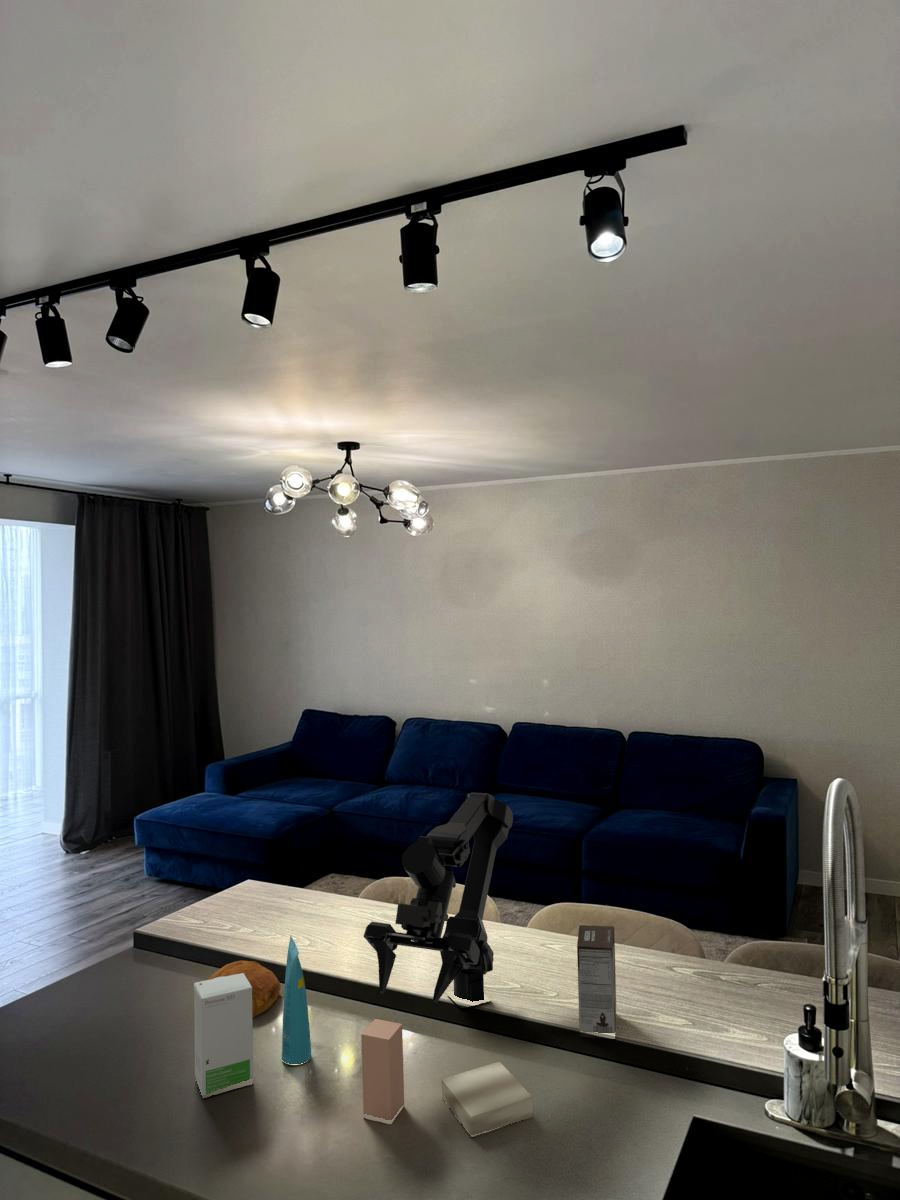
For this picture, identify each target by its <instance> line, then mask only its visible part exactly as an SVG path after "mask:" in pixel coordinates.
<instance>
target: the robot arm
mask: <svg viewBox="0 0 900 1200" xmlns="http://www.w3.org/2000/svg"><path fill="white" fill-rule="evenodd" d="M513 815H514V814H513V811H512V810H511V808H510V806H508V804H506V803H504V802H502V801H500V800H498V799H497V798H495V797H494V796H493V795H492V794H490V793H486V792H485V793H483V792H470V793H467V794H466V795H465V801H464V802H463V803H462V805H460V807H459V809H458V810H457V811H456V812H455V813H454V814H453V816H452V817H451V818H450V820H449V821H448V822H447V823H445V824H441V825H438V826H435V827H434V828H433V829H431V830H430V831H429V832H428V834H427V835H426V836H423V835H421V836H419V837H418V840H417V842H414V843H412V844H411V845H409V846H408V847H407V848H406V849H405V850H404V852H403V853H402V856H401V865H402V867H403V868H404V870H405V872H406V873H407V874H408V876H409V877H410V879H411V880H412V882H413V883H414V884H415V886H417V887H418V888H417V892H416V895H415V898H414V897H412V898H411V900H410V904H407V903H397V908H396V916H395V925H401V926H400V927H401V929H402V930H403V931H406V932H398V931H396V930H395V929H394V927H393V926H392V925H391V924H390V923H386V922H385V923H384V922H379V921H378V922H377V921H371V922H370V923H369V924H367V925H366V927H365V930H364V933H363V938H364V939H365V940H366V942H367V943H368V944H369V945H370V946H371V948H372V949H374V950H375V952H376V956H377V962H378V963H377V964H378V985H379V986H378V987H379V988H378V989H379V992H380V994H384V993H385V992H386V990H387V986H388V984H389V981H390V977H391V973H392V970H393V967H394V964H395V961H396V958H397V954H396V953H395V950H397V948H398V946H403V947H408V948H410V947H411V948H417V949H424V950H431V951H436V952H440V957H441V962H442V963H441V967H440V970H439V973H438V977H437V980H436V983H435V986H434V992H433V996H432V1001H433V1002H434V1003H438V1002H439V1000H440V999H441V997H442V996H443V995H444V994H445V992H446V990H448V987H449V986H450V985H451V984H452V982H453V991H454V995H455V996H457V997H459V998H462V999H467V1000H470V1001H472V1002H473V1001H479V1000H484V992H485V989H484V988H485V987H484V986H485V985H484V984H485V983H484V982H485V980H484V975H487V973H488V972H492V971H493V970H494V959H495V958H494V953H495V952H494V951H493V949H492V948H491V946H490V944H489V943H488V938H489V937H488V934H487V931H486V927H485V925H484V921H483V919H484V913H485V908H486V903H487V899H488V894H489V888H490V883H491V879H492V874H493V869H494V865H495V860H496V855H497V850H498V849H499V848H500V847H501V846H502V845H503V843H504V842H506V840H507V839H508V834H509V831H510V829H511V828H512V826H513V821H514V816H513ZM472 837H473V840H474V842H473V846H472V850H471V847H470V843H469V841H470V840H471V838H472ZM470 853H471V854H470ZM469 855H471V856H470V860H469V864H468V868H467V869H468V870H467V874H466V878H465V882H464V887H463V892H462V895H461V900H460V904H459V910H458V912H457V913H456V914H455V915H454V916H449V914H448V909H449V908H448V907H449V904H450V900H451V896H452V892H453V889H455V888H456V886H457V882H456V879H455V876H454V875H453V871H451V870H450V869H449V868H448V867H455V868H460V867H462V866H463V865H464V864H465V862H466V861H467V860H468V858H469ZM446 866H447V867H446ZM445 922H446V923H445ZM444 927H445V930H444ZM443 930H444V933H443ZM442 934H443V936H442Z"/></svg>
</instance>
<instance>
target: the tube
mask: <svg viewBox="0 0 900 1200" xmlns="http://www.w3.org/2000/svg"><path fill="white" fill-rule="evenodd" d="M299 954H300V951H299V949H298V946H297V944H296V942H295V940H294V938H293V936H292V934H290V936H289V943H288V948H287V955H286V956H287V957H286V966H285V967H286V968H285V979H284V989H283V990H284V992H283V993H284V994H283V1007H282V1030H281V1031H282V1032H281V1035H282V1036H281V1037H282V1038H281V1061H282V1060H283V1061H284V1062H286V1063H289V1064H301V1063H304V1062H306V1061H307V1060H309V1059H310V1060H311V1058H312V1043H311V1029H310V1017H309V1008H308V999H307V992H306V991H307V989H306V984H305V977H304V973H303V967H302V965H301V962H300V957H299ZM310 1060H309V1061H310ZM306 1063H307V1062H306Z"/></svg>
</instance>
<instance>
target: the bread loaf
mask: <svg viewBox="0 0 900 1200" xmlns="http://www.w3.org/2000/svg"><path fill="white" fill-rule="evenodd" d="M241 973H244V975H245V976H246V978H247V980H248V981H249V983H250V985H251V986H252V1019H253V1018H255V1017H257V1016H259V1015H261V1014H262V1013H264V1012H266V1011H267V1010H269V1009H270V1008H271V1007H272V1006H273V1003H275V1001H277V999H278V997H279V996H280V993H281V992H280V991H281V983H280V981H279V979H278V977H276V975H275V973H274V972H273V971H272V970H270V969H268V968H267V967H265V966H263V965H261V964H260V963H259V962H258V961H251V960H249V961H248V960H237V961H233V962H231V963H227V964H225V965H224V966H222V967H221V968H219V969H218V970H217V971H214V973H213V974H212V975H210V976H209V977H208V978H207V979H206V980H211V979H214V978H217V977H226V976H231V975H236V974H241Z"/></svg>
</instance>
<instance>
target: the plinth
mask: <svg viewBox="0 0 900 1200" xmlns="http://www.w3.org/2000/svg"><path fill="white" fill-rule="evenodd" d="M442 1098H443V1099H442ZM441 1099H442V1101H443V1100H444V1101H445V1102H446V1103H447V1105H448V1106H449V1107H450V1108H451V1110H452V1111H453V1112H454V1114H455V1115H456V1117H457V1118H458V1119H459V1120H460V1122H461V1123H462V1124H463V1125H464V1126H465V1128H466V1129H467V1130H468V1132H469V1133H470V1134H471V1135H475V1134H479V1133H482V1132H484V1131H489V1130H492V1129H495V1128H498V1127H501V1126H504V1125H507V1124H511V1125H513V1124H512V1123H514V1124H516V1123H515V1122H517V1123H520V1122H522V1121H521V1120H523V1121H525V1120H528V1119H531V1118H533V1096H532V1094H530V1093H529V1091H527V1090H526V1088H524V1086H523V1085H522V1084H521V1083H520V1082H519V1081H518V1080H517V1078H516V1077H514V1075H513V1074H511V1072H510V1071H509V1070H508V1068H507V1067H505V1066H504V1064H502V1063H501V1061H497V1062H493V1063H489V1064H486V1065H483V1066H480V1067H477V1068H474V1069H470V1070H466V1071H464V1072H460V1073H457V1074H455V1075H451V1076H447V1077H445V1078H441ZM444 1101H443V1102H444ZM445 1102H444V1103H445ZM446 1103H445V1104H446ZM447 1105H446V1106H447ZM448 1106H447V1107H448ZM449 1107H448V1108H449ZM451 1110H450V1111H451ZM452 1111H451V1112H452ZM454 1114H453V1115H454ZM455 1115H454V1116H455ZM456 1117H455V1118H456ZM457 1118H456V1119H457ZM458 1119H457V1120H458ZM519 1121H520V1122H519ZM460 1122H459V1123H460ZM461 1123H460V1124H461Z"/></svg>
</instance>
